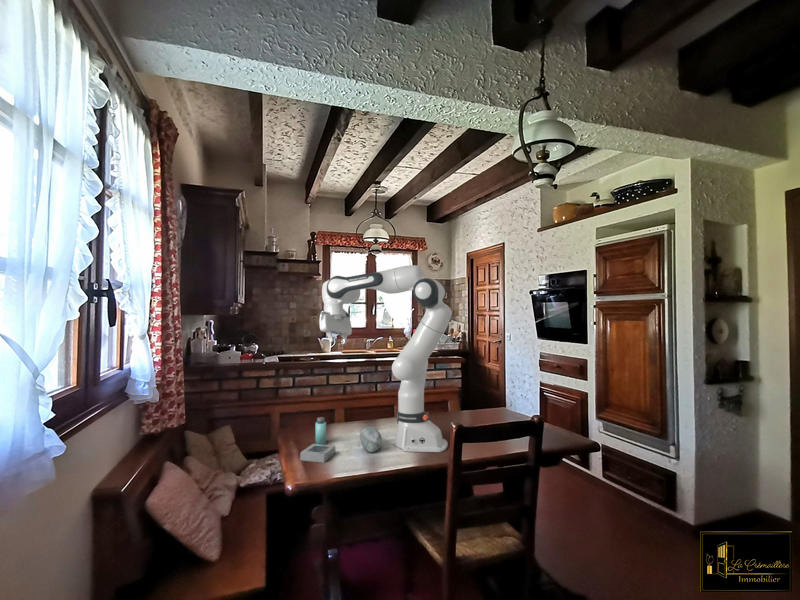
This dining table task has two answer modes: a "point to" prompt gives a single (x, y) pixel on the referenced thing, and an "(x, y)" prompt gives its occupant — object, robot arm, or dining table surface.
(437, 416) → the dining table surface
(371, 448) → the spool
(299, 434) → the dining table surface
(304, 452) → the housing
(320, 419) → the bottle
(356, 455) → the dining table surface
